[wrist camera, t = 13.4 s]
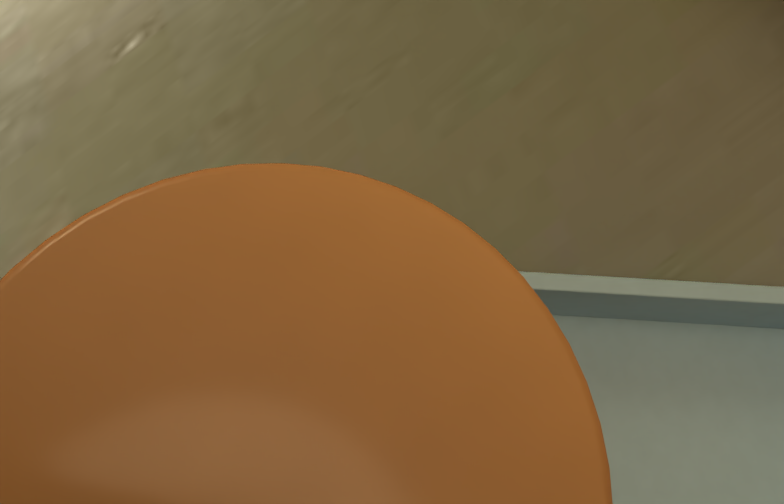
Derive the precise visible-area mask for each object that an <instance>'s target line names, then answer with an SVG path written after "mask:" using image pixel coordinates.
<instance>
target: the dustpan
mask: <svg viewBox="0 0 784 504" xmlns="http://www.w3.org/2000/svg"><path fill="white" fill-rule="evenodd" d="M518 272H519V273H520V274H521V275H522V276H523V277H524V278H525V280H526V281H527V282H528V284H529V285H530V286H531V287H532V289H533V290H534V291H535V293H536V294H537V295H538V296H539V298H540V299H541V300H542V301H543V303H544V304H545V305H546V307H547V308H548V309H549V311H550V313H551V314H552V316H553V318H554V319H555V321H556V322H557V324H558V326H559V327H560V329H561V331H562V332H563V334H564V336H565V337H566V339H567V341H568V342H569V344H570V346H571V348H572V350H573V353H574V355H575V357H576V359H577V361H578V363H579V366H580V368H581V370H582V372H583V374H584V377H585V379H586V381H587V383H588V386H589V390H590V393H591V396H592V399H593V402H594V405H595V408H596V411H597V414H598V417H599V420H600V423H601V428H602V433H603V438H604V443H605V448H606V453H607V458H608V463H609V468H610V479H611V491H612V503H613V504H784V287H778V286H761V285H744V284H727V283H710V282H693V281H676V280H659V279H642V278H625V277H607V276H590V275H573V274H556V273H539V272H522V271H518Z"/></svg>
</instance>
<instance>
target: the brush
mask: <svg viewBox="0 0 784 504" xmlns="http://www.w3.org/2000/svg"><path fill="white" fill-rule="evenodd" d="M0 504H613V503H612V491H611V479H610V468H609V463H608V458H607V453H606V448H605V443H604V438H603V433H602V428H601V423H600V420H599V417H598V414H597V411H596V408H595V405H594V402H593V399H592V396H591V393H590V390H589V386H588V383H587V381H586V379H585V377H584V374H583V372H582V370H581V368H580V366H579V363H578V361H577V359H576V357H575V355H574V353H573V350H572V348H571V346H570V344H569V342H568V341H567V339H566V337H565V336H564V334H563V332H562V331H561V329H560V327H559V326H558V324H557V322H556V321H555V319H554V318H553V316H552V314H551V313H550V311H549V309H548V308H547V307H546V305H545V304H544V303H543V301H542V300H541V299H540V298H539V296H538V295H537V294H536V293H535V291H534V290H533V289H532V287H531V286H530V285H529V284H528V282H527V281H526V280H525V278H524V277H523V276H522V275H521V274H520V273H519V272H518V271H517V270H516V269H515V268H514V267H513V266H512V265H511V264H510V263H509V262H508V261H507V260H506V259H505V258H504V257H503V256H502V255H501V254H500V253H499V252H498V251H497V250H496V249H495V248H494V247H493V246H492V245H490V244H489V243H488V242H487V241H485V240H484V239H483V238H482V237H480V236H479V235H478V234H477V233H475V232H474V231H473V230H471V229H470V228H469V227H468V226H466V225H465V224H464V223H462V222H461V221H459V220H457V219H456V218H454V217H453V216H451V215H449V214H448V213H446V212H445V211H443V210H441V209H440V208H438V207H436V206H435V205H433V204H432V203H430V202H427V201H425V200H423V199H421V198H419V197H417V196H415V195H413V194H410V193H408V192H406V191H404V190H402V189H400V188H398V187H395V186H392V185H389V184H386V183H383V182H380V181H377V180H374V179H371V178H368V177H365V176H362V175H359V174H354V173H349V172H345V171H340V170H335V169H330V168H325V167H319V166H308V165H297V164H286V163H269V164H240V165H233V166H226V167H218V168H211V169H204V170H199V171H195V172H192V173H188V174H184V175H180V176H176V177H172V178H168V179H164V180H161V181H158V182H156V183H153V184H150V185H148V186H145V187H142V188H140V189H137V190H135V191H132V192H129V193H127V194H124V195H122V196H120V197H118V198H116V199H114V200H112V201H110V202H108V203H106V204H104V205H102V206H100V207H98V208H96V209H94V210H92V211H91V212H89V213H87V214H85V215H83V216H81V217H80V218H78V219H77V220H75V221H74V222H72V223H71V224H69V225H68V226H66V227H65V228H63V229H62V230H60V231H59V232H57V233H56V234H54V235H53V236H51V237H50V238H48V239H47V240H45V241H44V242H43V243H42V244H41V245H39V246H38V247H37V248H36V249H35V250H33V251H32V252H31V253H30V254H29V255H28V256H26V257H25V258H24V259H23V260H22V261H20V262H19V263H18V264H17V265H16V266H14V267H13V268H12V269H11V270H10V271H9V272H8V273H7V274H6V275H5V276H4V277H3V278H2V279H1V280H0Z"/></svg>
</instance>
